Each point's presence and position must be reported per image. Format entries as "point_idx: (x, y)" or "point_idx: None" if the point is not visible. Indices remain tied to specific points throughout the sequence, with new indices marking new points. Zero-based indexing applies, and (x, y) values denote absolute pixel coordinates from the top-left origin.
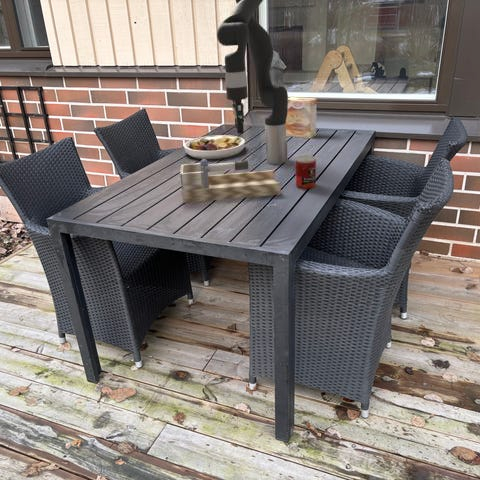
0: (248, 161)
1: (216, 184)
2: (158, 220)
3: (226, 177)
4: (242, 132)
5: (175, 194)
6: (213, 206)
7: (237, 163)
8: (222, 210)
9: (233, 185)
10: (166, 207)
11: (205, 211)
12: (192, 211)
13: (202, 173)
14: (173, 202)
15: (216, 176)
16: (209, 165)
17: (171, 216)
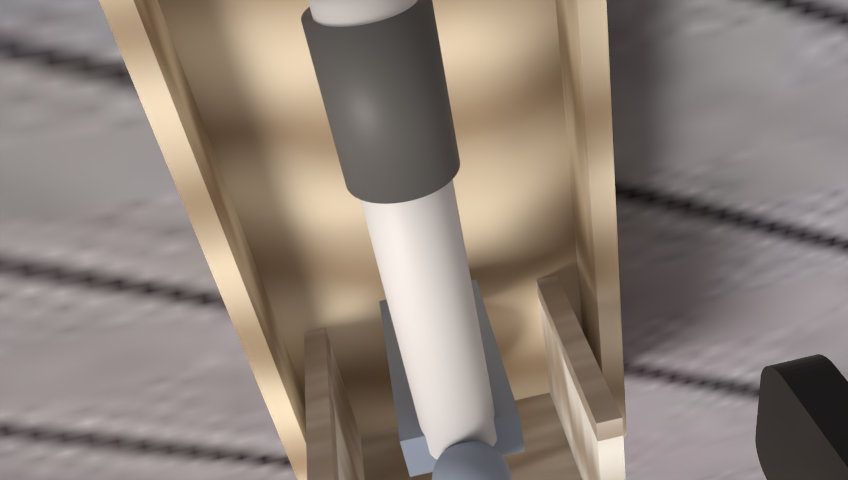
0: (379, 11)
1: (296, 250)
2: None
3: (219, 200)
4: (821, 381)
5: None
6: (715, 174)
7: (444, 153)
8: (817, 93)
9: None
10: (653, 435)
11: (794, 208)
12: (766, 286)
13: (619, 415)
14: None
15: (250, 292)
16: (476, 419)
17: None
